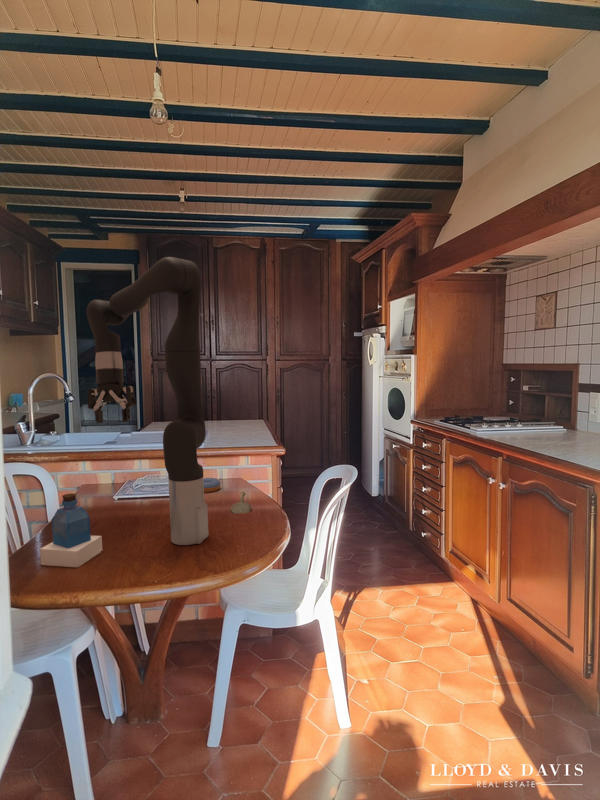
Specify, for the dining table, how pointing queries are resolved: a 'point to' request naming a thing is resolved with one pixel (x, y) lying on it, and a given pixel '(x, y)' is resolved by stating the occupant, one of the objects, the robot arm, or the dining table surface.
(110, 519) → the dining table surface
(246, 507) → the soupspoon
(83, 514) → the perfume bottle
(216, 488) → the doughnut
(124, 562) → the dining table surface
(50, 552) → the plinth
